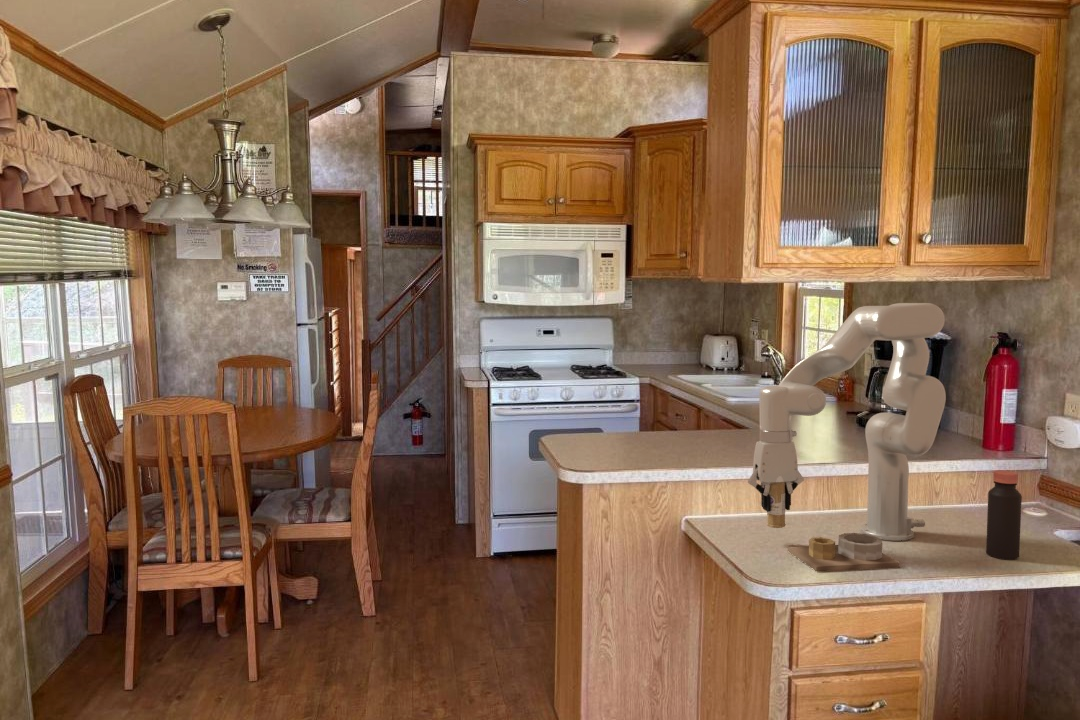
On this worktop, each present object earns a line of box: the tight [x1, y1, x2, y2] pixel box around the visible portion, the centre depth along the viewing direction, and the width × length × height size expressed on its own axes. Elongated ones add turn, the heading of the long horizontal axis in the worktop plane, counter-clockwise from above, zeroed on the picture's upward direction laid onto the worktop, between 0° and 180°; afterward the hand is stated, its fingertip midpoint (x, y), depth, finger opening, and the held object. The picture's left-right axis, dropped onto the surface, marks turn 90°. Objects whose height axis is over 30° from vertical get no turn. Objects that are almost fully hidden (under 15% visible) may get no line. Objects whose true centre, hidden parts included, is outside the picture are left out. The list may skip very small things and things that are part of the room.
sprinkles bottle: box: [766, 476, 786, 529], centre depth 190 cm, size 5×5×13 cm
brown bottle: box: [985, 469, 1023, 561], centre depth 181 cm, size 7×7×20 cm
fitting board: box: [787, 532, 900, 572], centre depth 179 cm, size 20×14×5 cm
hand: (776, 508), depth 190 cm, fingers closed on sprinkles bottle, 4 cm apart
